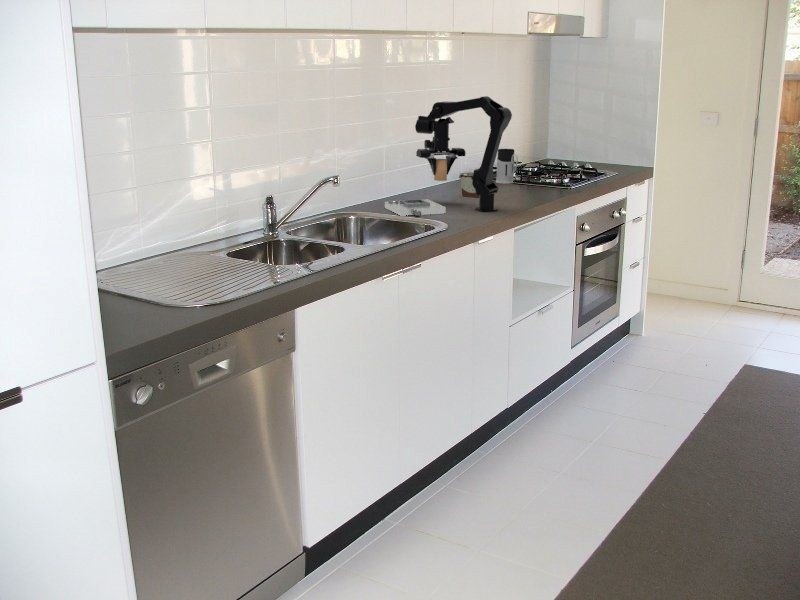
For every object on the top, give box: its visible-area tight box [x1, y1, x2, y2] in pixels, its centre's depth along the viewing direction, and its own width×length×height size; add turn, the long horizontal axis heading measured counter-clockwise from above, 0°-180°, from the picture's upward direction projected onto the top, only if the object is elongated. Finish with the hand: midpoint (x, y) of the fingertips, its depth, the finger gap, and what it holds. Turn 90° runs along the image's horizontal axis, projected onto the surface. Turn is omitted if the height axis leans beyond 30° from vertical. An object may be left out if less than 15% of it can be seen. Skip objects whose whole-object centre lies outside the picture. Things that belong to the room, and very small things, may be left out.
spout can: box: [433, 158, 448, 182], centre depth 348 cm, size 7×5×8 cm
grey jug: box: [495, 148, 519, 185], centre depth 405 cm, size 9×14×15 cm, turn 24°
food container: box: [458, 171, 479, 200], centre depth 368 cm, size 12×6×10 cm, turn 59°
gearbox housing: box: [384, 198, 447, 217], centre depth 337 cm, size 21×18×4 cm
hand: (440, 174), depth 348 cm, fingers closed on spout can, 5 cm apart
